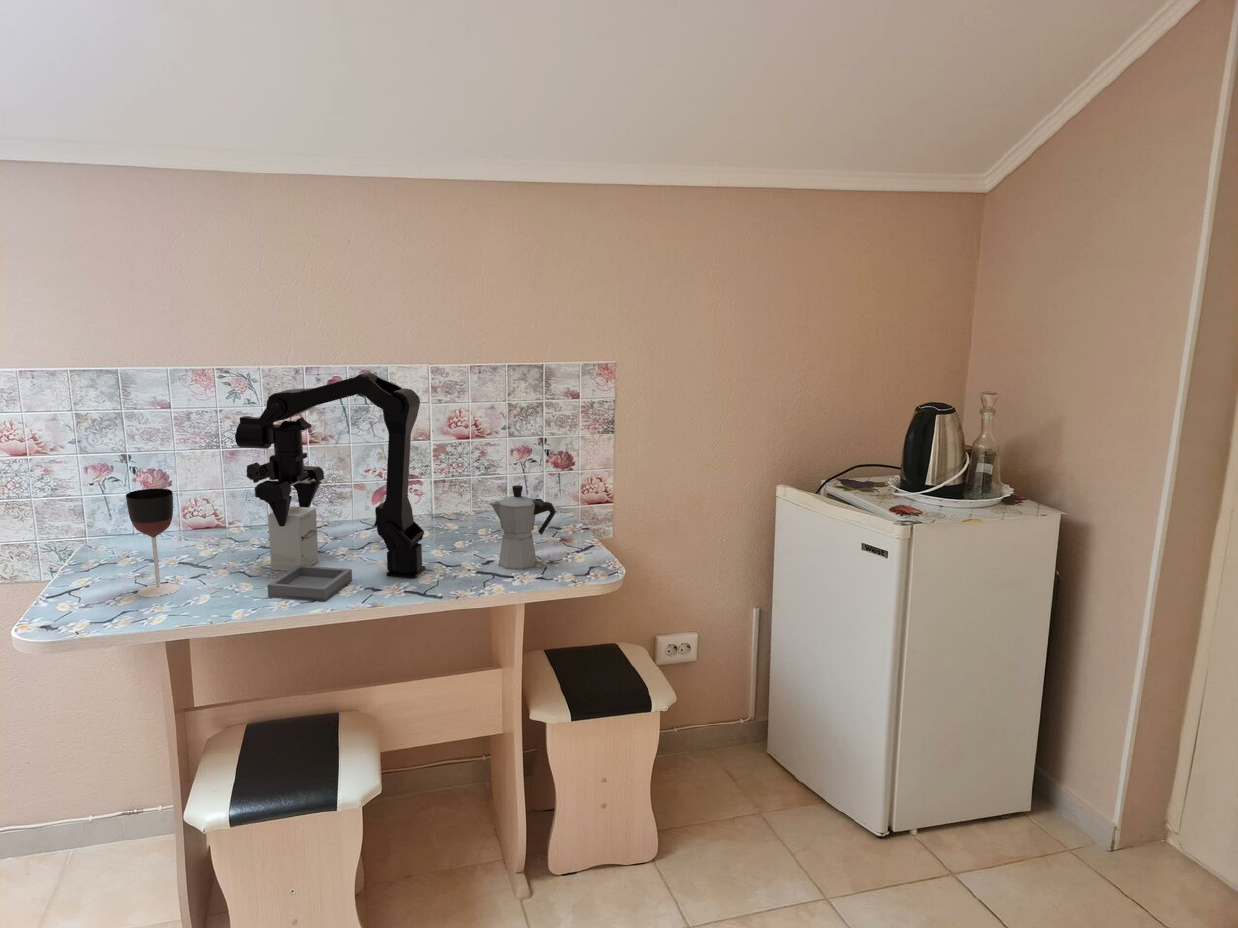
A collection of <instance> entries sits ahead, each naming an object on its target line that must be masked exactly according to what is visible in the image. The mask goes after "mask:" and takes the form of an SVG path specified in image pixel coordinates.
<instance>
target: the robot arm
mask: <svg viewBox="0 0 1238 928" xmlns="http://www.w3.org/2000/svg"><path fill="white" fill-rule="evenodd" d="M360 394H361V395H363V396H364V397H366V399H367V400H369V402H371V403H372V404H373V405H374V406H376V407H378V408H380V409H381V410H382V413H383V414H382V415H383V421H384V423H385V427H386V429H387V433H388V441H387V442H388V443H387V444H388V445H387V465H386V466H387V467H386V469H387V470H386V486H385V487H386V488H385V499H384V501H383V502H382V503H380V504H379V505H377V506H376V507H375V508H374V509H375V511H374V512H375V522H374V524H373V526H374V527H376V532H377V534H378V536H380V538H381V539H382V540H383V542H384V544H385V547H386V550H387V552H386V567H387V568H386V569H387V572H386V576H388V577H400V578H413V579H414V578H417V577H418V576H419V575H420V573H422V572H423V571H424V570H425V569H426V566H425V565H423V549H422V544H423V543H419V542H420V541H422V540H423V537H424V535H425V530H424V529H423V528H421V526H420V525H419V524H418V523H417V522H416V521H415V520H414V514H413V508H412V505H411V501H410V499H409V477H410V461H411V459H410V457H411V441H412V440H411V439H412V437H411V436H412V431H413V429H414V425H415V423H416V421H417V418H418V415H419V414H418V413H419V410H420V407H421V401H420V397H419V395H418V394H417V393H416V392H415V391H414V390H412V389H411V388H406V387H405V388H403V387H401V386H399V385H398V384H395V383H393V382H391V381H388V380H385V379H383V378H381V377H379V376H378V375H375V373H372V372H369V371H368V372H364V373H361V374H360V373H359V374H357V375H356V376H354V377H350V378H346V379H342V380H339V381H335V382H332V383H331V382H330V383H328V384H325V385H322V386H317V387H311V388H294V389H293V388H292V389H286V390H282V391H279V392H275V393H272V394H270V395H269V396H268V398H267V399H266V407H265V409H264V410H263V412H262V413H261V414H260V416H257V417H255V416H249V415H243V416H240V417H239V423H238V425H237V427H236V431H235V433H234V439H235V442H236V445H237V446H238V447H239V448H241V449H258V450H259V449H263V450H268V449H270V447H271V446H272V445H273V450H274V451H273V452H274V454H272V455H270V456H269V459H268V460H269V462H266V463H263V464H259V462H253V463H251V464H249V465H246V475H245V476H246V478H248V479H249V480H250V481H252V482H253V484H256V483H257V485H256V486H254V489H253V490H254V497H255V498H259V500H260V501H264V502H266V503H267V504H268V505H269V507H270V509H271V510H272V513H274V515H275V517H276V520H277V522H278V524H279V526H282V527H284V526H285V524H286V520H287V516H288V511H289V507H290V506H291V502H292V497H293V496H292V495H291V492H292V487H293V488H294V489H295V490H296V494H297V500H298V507H308V508H311V504H312V502H313V499H314V497H315V496H316V493H317V491H318V489H319V486H320V485H321V484H322V481H323V480H324V479H325V472H324V470H323V468H321V467H320V466H313V465H311V466H309V465H305V463H304V460H305V459H307V458H308V453H307V452H304V449H303V448H304V447H303V432H304V431H305V430H309V429H311V428H312V427H313V426H312V424H311V423H309V422H308V421H306V420H305V418H304V417H299V418H296V420H287V419H290V418H293V417H296V416H299V415H301V414H303V413H305V412H308V411H309V410H311V409H313V408H314V407H315V408H316V406H319V405H323V404H327V403H330V402H334V401H338V400H342V399H345V398H349V397H354V396H356V395H360ZM280 421H282V422H281V423H280V424H274V423H276V422H280ZM265 479H269V480H265ZM263 480H265V481H263ZM260 481H262V482H260Z"/></svg>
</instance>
